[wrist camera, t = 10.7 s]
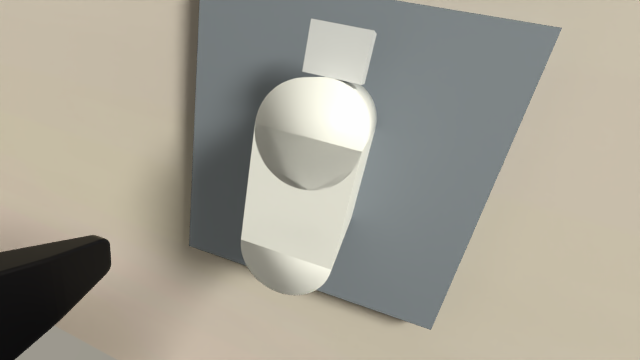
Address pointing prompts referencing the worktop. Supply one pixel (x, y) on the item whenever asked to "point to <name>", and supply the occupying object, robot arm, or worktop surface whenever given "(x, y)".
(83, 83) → the worktop surface
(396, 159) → the slate mat
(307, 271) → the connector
